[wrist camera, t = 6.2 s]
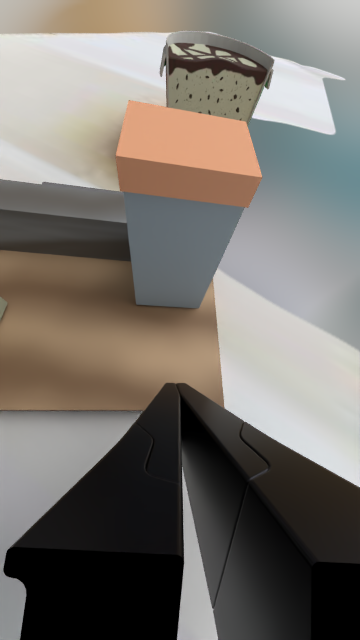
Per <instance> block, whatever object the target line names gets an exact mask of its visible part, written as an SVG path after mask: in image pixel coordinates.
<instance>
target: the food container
mask: <svg viewBox="0 0 360 640" xmlns="http://www.w3.org/2000/svg"><path fill="white" fill-rule="evenodd" d="M273 63H274V59H273V58H272V57H271V56H269V55H268V54H266V53H265V52H263V51H261V50H259V49H257V48H255V47H253V46H251V45H249V44H246V43H244V42H241V41H238V40H235V39H232V38H229V37H225V36H221V35H217V34H212V33H206V32H198V31H180V32H175V33H172V34H170V35H169V36H168V37H167V40H166V46H165V47H164V49H163V55H162V61H161V67H160V76H161V77H162V73H163V68H164V66H165V65H166V98H167V107H169V108H174V109H180V110H185V111H190V112H196V113H201V114H207V115H212V116H218V117H223V118H229V119H234V120H240V121H245V122H246V123H247V127H248V125H249V122H250V120H251V118H252V115H253V113H254V110H255V108H256V105H257V103H258V101H259V98H260V96H261V93H262V91H263V89H264V86H265V87H266V88H267V89H269V86H270V82H271V78H272V74H273V69H272V67H273Z"/></svg>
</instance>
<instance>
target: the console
mask: <svg viewBox="0 0 360 640" xmlns="http://www.w3.org/2000/svg"><path fill="white" fill-rule="evenodd" d="M0 297H1V298H2V299H4V300H5V301H6V302H7V306H6V308H5V311H4V313H3V315H2V318H1V320H0V411H144V410H145V409H146V408H147V406H148V405H149V404H150V402H151V401H152V400H153V399H154V397H155V396H156V395H157V393H158V392H159V391H160V390H161V388H162V387H163V386H164V384H165V383H175V384H176V383H186V384H188V385H189V386H191V387H192V388H194V389H195V390H197V391H199V392H200V393H202V394H203V395H205V396H206V397H208V398H209V399H211V400H212V401H214V402H215V403H217V404H218V405H220V406H222V407H223V408H224V399H223V387H222V376H221V365H220V354H219V342H218V331H217V320H216V308H215V297H214V286H213V278H212V281H211V283H210V285H209V287H208V290H207V292H206V294H205V296H204V298H203V301H202V303H201V305H200V307H199V308H183V307H167V306H152V305H136V299H135V290H134V281H133V272H132V264H131V255H130V246H129V237H128V229H127V220H126V211H125V202H124V195H120V194H112V193H104V192H96V191H88V190H81V189H73V188H65V187H57V186H49V185H41V184H33V183H25V182H18V181H10V180H2V179H0Z"/></svg>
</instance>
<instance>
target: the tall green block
mask: <svg viewBox="0 0 360 640" xmlns="http://www.w3.org/2000/svg"><path fill="white" fill-rule="evenodd" d="M6 306H7V302H6V301H5V300H4V299H2V298H1V297H0V320H1V318H2V315H3V313H4V311H5V308H6Z"/></svg>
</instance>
